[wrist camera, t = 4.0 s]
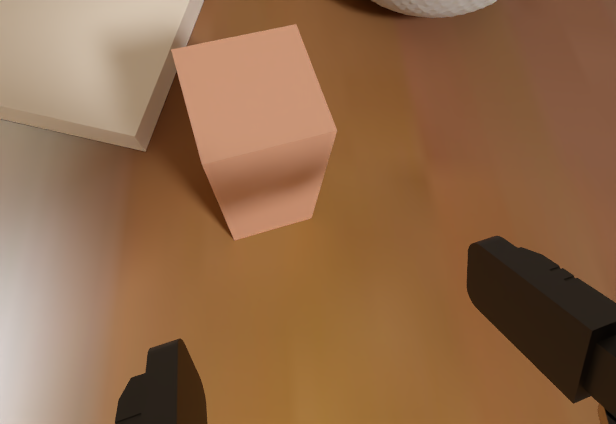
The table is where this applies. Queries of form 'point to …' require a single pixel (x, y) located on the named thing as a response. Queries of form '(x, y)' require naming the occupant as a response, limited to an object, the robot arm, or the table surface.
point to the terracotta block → (258, 126)
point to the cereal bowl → (434, 7)
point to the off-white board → (91, 64)
